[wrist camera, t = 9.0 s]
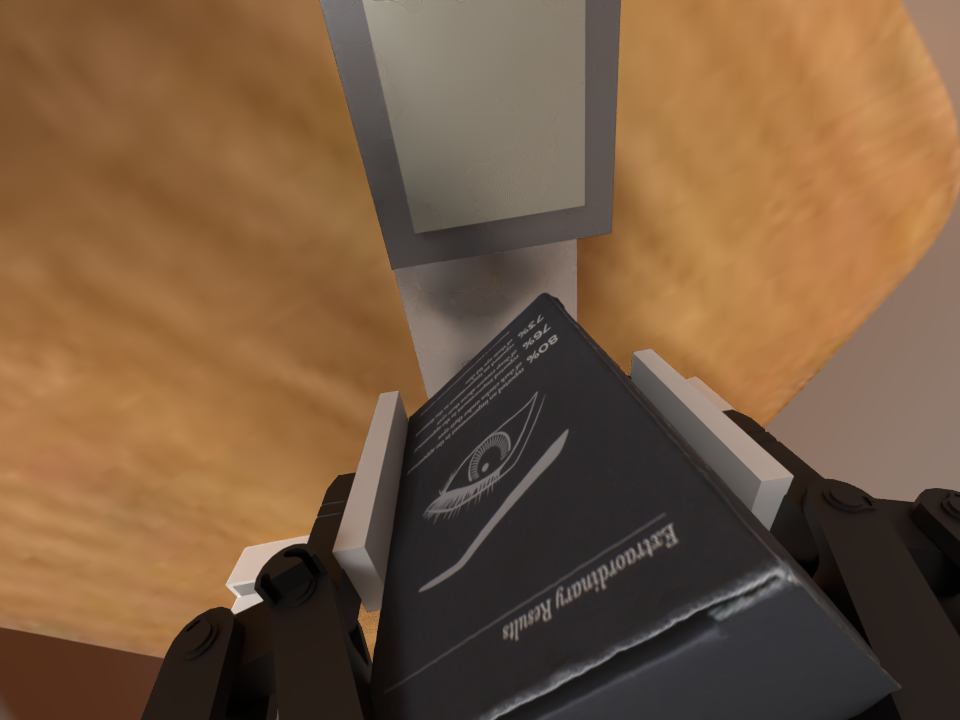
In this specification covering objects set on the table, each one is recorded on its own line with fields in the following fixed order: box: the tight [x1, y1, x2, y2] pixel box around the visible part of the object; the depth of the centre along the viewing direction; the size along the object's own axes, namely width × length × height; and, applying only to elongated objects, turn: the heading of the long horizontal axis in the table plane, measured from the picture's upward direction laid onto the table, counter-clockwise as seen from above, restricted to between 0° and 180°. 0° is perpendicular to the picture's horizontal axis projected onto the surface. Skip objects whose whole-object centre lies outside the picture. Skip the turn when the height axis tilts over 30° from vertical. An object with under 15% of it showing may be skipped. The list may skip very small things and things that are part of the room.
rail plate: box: [319, 0, 621, 400], centre depth 18 cm, size 26×10×9 cm, turn 8°
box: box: [369, 293, 902, 720], centre depth 10 cm, size 8×6×11 cm
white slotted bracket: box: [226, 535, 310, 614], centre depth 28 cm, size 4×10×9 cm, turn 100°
